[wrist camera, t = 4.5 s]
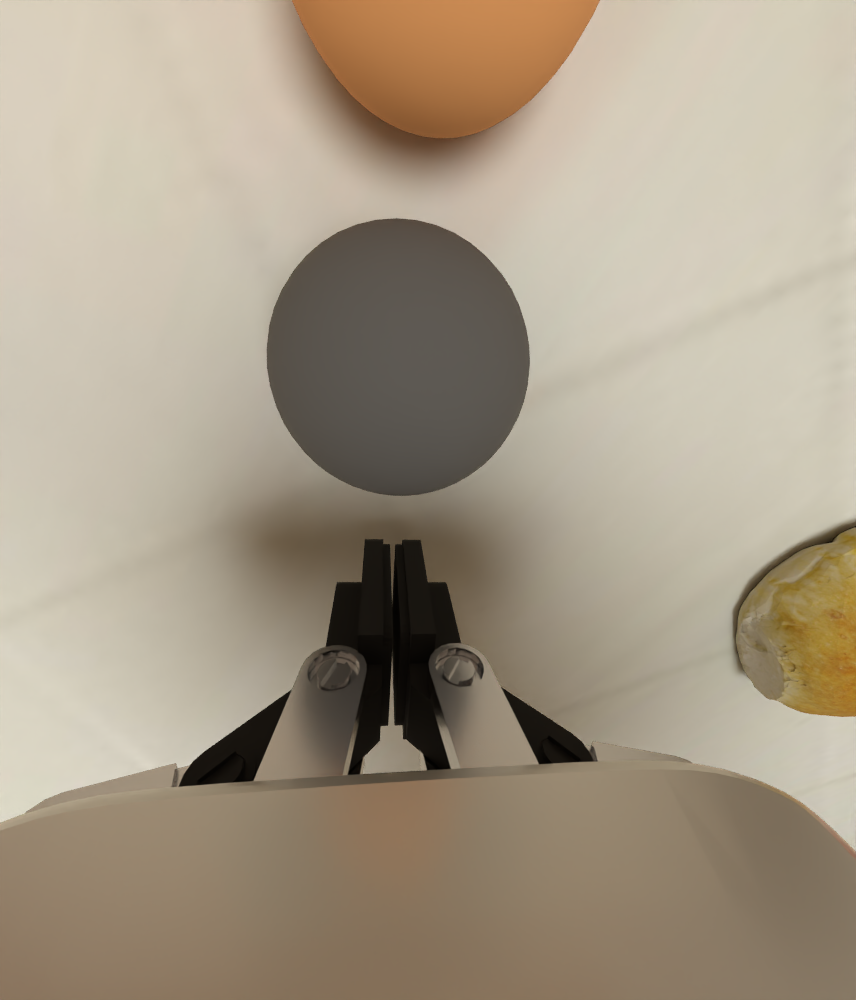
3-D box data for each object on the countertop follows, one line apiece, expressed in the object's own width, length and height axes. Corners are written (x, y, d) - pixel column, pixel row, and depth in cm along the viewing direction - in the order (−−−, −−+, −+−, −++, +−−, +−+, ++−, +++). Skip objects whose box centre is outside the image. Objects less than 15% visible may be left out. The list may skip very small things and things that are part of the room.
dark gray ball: (529, 138, 5) (459, 168, 9) (140, 336, 5) (249, 275, 10) (592, 492, 8) (517, 386, 12) (341, 579, 9) (356, 452, 13)
